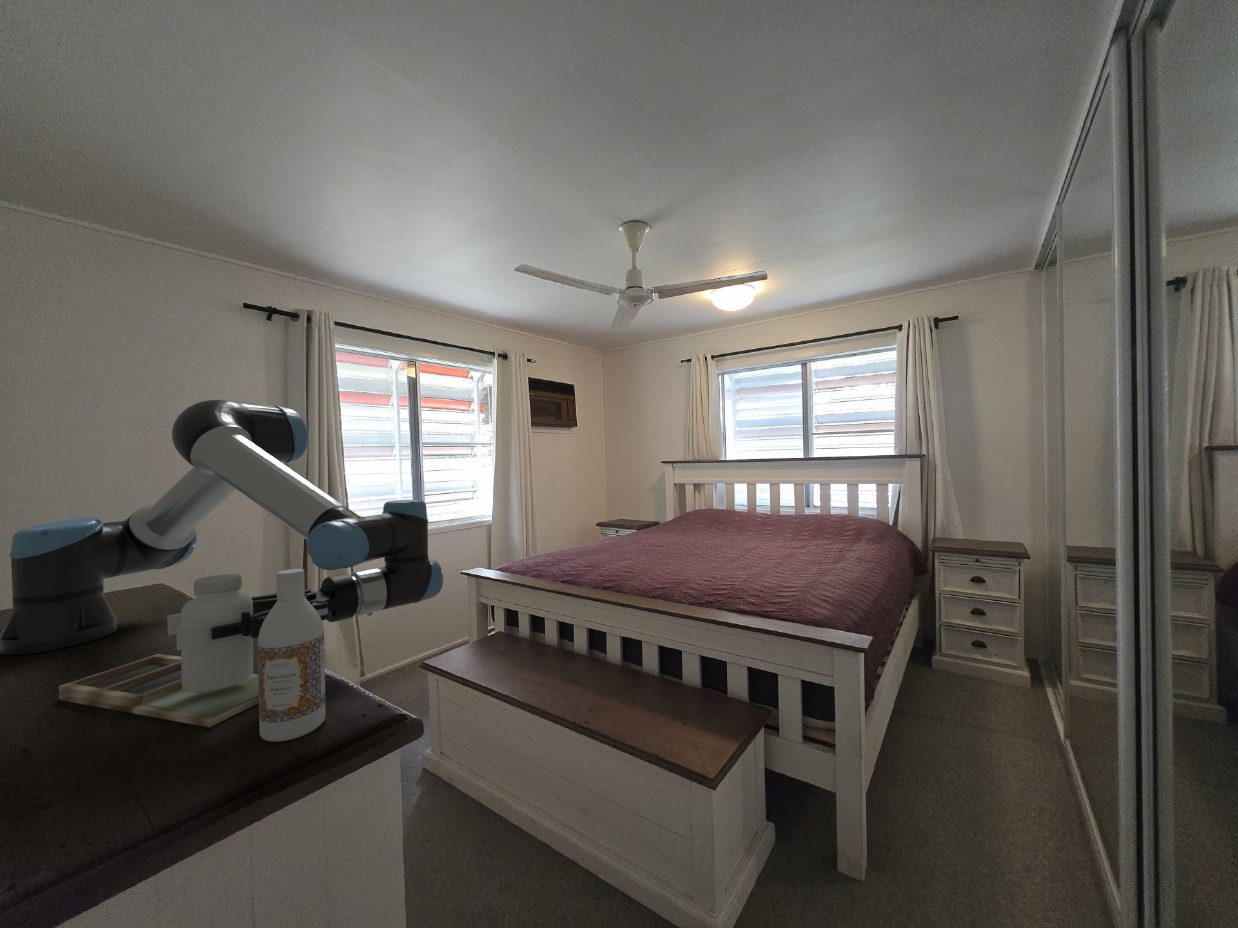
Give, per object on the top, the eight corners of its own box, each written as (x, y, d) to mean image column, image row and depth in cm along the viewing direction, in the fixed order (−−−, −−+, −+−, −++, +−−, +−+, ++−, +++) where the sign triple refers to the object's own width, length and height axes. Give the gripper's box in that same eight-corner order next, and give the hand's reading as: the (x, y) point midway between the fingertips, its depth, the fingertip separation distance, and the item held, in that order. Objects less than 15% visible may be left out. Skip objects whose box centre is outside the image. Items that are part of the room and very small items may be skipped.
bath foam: (247, 747, 57) (244, 579, 56) (275, 717, 63) (272, 567, 63) (313, 739, 58) (309, 575, 58) (333, 710, 65) (330, 563, 65)
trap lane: (59, 699, 69) (59, 685, 69) (158, 665, 81) (158, 653, 81) (209, 727, 61) (209, 711, 61) (295, 684, 73) (295, 671, 73)
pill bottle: (266, 674, 71) (263, 573, 71) (200, 699, 64) (197, 587, 63) (235, 666, 74) (233, 569, 74) (170, 688, 67) (167, 581, 67)
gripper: (377, 629, 76) (185, 681, 58) (330, 605, 89) (162, 641, 72) (376, 582, 76) (183, 620, 58) (329, 565, 89) (161, 592, 72)
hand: (172, 632), depth 65 cm, fingers closed on pill bottle, 8 cm apart
